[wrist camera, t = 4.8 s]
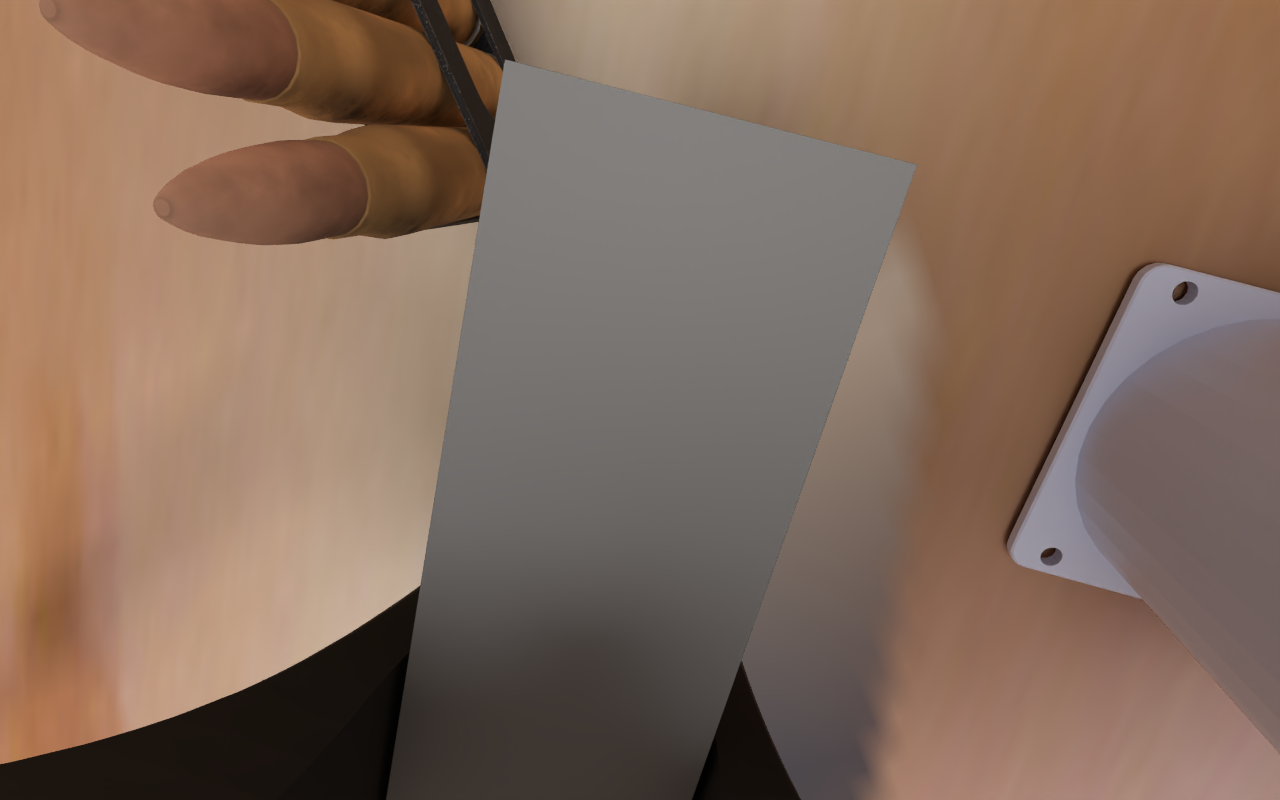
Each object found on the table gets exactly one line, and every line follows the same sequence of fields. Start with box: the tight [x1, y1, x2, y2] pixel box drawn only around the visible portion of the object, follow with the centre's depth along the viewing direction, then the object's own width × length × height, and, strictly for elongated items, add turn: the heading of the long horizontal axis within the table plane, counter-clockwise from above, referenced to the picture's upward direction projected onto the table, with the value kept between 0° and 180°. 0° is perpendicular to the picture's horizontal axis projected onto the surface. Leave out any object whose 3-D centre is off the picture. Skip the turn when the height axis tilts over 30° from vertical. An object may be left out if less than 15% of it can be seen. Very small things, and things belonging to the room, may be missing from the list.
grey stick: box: [386, 60, 917, 800], centre depth 12 cm, size 4×18×5 cm, turn 167°
